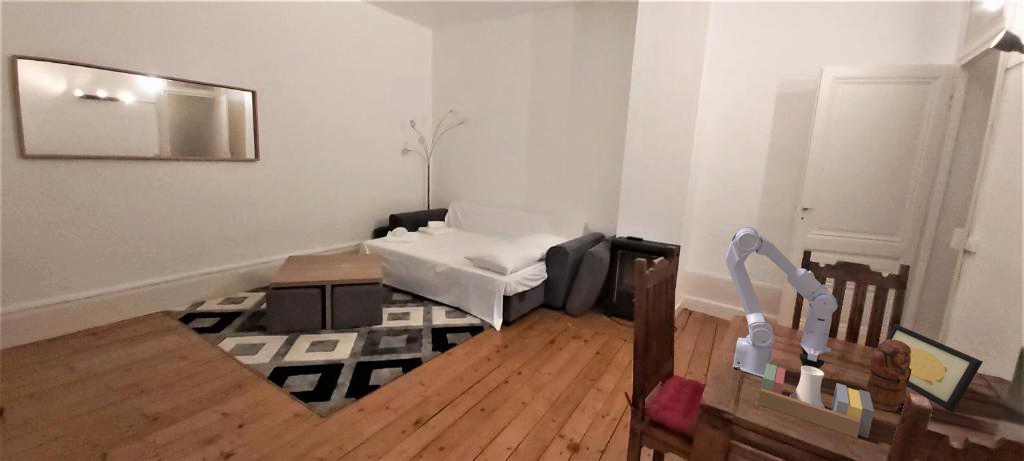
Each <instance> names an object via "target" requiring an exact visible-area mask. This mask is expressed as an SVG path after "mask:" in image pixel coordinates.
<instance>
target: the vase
mask: <svg viewBox="0 0 1024 461" xmlns="http://www.w3.org/2000/svg"><path fill="white" fill-rule="evenodd" d="M800 371H801V372H800V378H799V382H798V384H797V387H796V389H795V390H794V392H793V393H790V395H789V396H788V397H791V398H794V399H797V400H800V401H804V402H807V403H810V404H813V405H816V406H819V407H822V408H825V405H824V404H823V401H822V394H821V388H822V387H821V386H822V381H823V378H824V376H825V373H824V371H823V370H821V369H820V368H819V369H817V368H814V367H811V366H802V365H801V367H800Z"/></svg>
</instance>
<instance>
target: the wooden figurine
mask: <svg viewBox="0 0 1024 461" xmlns="http://www.w3.org/2000/svg"><path fill="white" fill-rule="evenodd" d="M910 353H911V349H910V347H909V346H908V345H907V344H905V343H903V342H901V341H898V340H886V339H885V340H883V341H882V342H881V343H880V344H879V345H878V346H877V350H876V351H875V352H874V353H873V355H872V356H871V358H870V364H869V370H870V376H869V379H868V380H867V381H868V382H867V386H866V390H865V391H866V392H870V397H871V401H872V405H873V409H877V410H882V411H884V412H885V411H886V412H897V411H898V410H899V409H901V408H902V407H903V406H902V405H903V404H905V399H906V397H907V385H906V383H907V382H909V379H910V375H911V369H910V368H909V366H910V361H911V355H910Z"/></svg>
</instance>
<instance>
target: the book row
mask: <svg viewBox="0 0 1024 461" xmlns="http://www.w3.org/2000/svg"><path fill="white" fill-rule="evenodd" d="M785 375H786V368H784V367H780V366H777V365H775V364H772V363H770V364H768V363H767V364H766V367H765V371H764V375H763V377H762V380H761V386H760V391H759V396H758V405H760V406H762V407H765V408H767V409H771V410H774V411H776V412H780V413H783V414H785V415H788V416H791V417H793V418H797V419H801V420H803V421H806V422H809V423H812V424H814V425H815V424H816V425H818V426H819V427H820V426H821V427H823V428H827V429H830V430H833V431H836V432H839V433H841V434H844V435H848V436H851V437H853V438H855V439H858V436H859V437H863V438H866V439H869V436H870V431H871V428H872V422H873V418H874V413H875V411H874V409H875V408H874V407H873V405H872V401H871V397H870V392H866V390H863V389H853V388H850V387H847V385H845V384H841V383H838V382H836V384H835V389H834V393H833V398H832V403H831V409H828V408H822V407H819V406H816V405H813V404H810V403H807V402H804V401H800V400H797V399H794V398H791V397H789V396H788V395H784V394H782V393H783V387H784V383H785Z"/></svg>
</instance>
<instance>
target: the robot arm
mask: <svg viewBox="0 0 1024 461" xmlns="http://www.w3.org/2000/svg"><path fill="white" fill-rule="evenodd" d="M730 240H731V241H730V243H729V246H728V249H727V252H726V255H725V263H726V266H727V270H728V272H729V275H730V277H731V278H732V283H733V285H734V287H735V290H736V293H737V295H738V298H739V301H740V304H741V307H742V309H743V311H744V314H745V317H746V320H747V328H748V332H749V334H747V335H746V336H745V337H738V338H737V341H736V346H735V352H734V355H733V363H732V364H733V365H732V368H733V367H734V366H735V367H740V369H741V370H740V371H741V372H745V373H748V374H751V375H754V376H758V377H761V378H763V375H764V371H765V367H766V364H767V363H768V364H771V360H772V354H773V348H774V342H775V339H776V338H775V333H774V332H773V328H772V327H773V326H772V323H771V322H770V321H769V320H768V318H766V317H765V315H764V313H763V310H762V308H761V304H760V302H759V299H758V296H757V294H756V291H755V289H754V285H753V284H752V281H751V278H750V275H749V273H748V271H747V268H746V265H745V262H746V261H747V260H748V258H749V256H750V255H751V254H753V253H754V252H755V253H756V254H757V255H762V256H766V257H767V258H769V260H771V261H772V263H774V265H776V266H777V267H778V268H779V269H780V270H782V271H783V273H785V274H786V275H787V276H786V282H787V283H788V284H789V285H790V286H791V287H792V288H794V290H795V291H797V293H798V294H800V296H802V298H804V299H806V300H807V302H808V303H809V304H808V308H807V309H808V310H807V312H806V315H805V322H804V327H803V332H802V337H801V341H800V342H799V345H800V348H801V350H802V353H799V359H800V362H801V367H802V366H811V367H814V368H817V369H819V370H820V368H822V367H823V366H824V364H825V360H823V359H819V358H820V356H821V355H822V354H824V353H831V352H832V348H831V347H828V346H827V344H828V340H829V335H830V332H831V331H830V330H831V326H832V320H833V318H832V317H833V313H834V312H836V311H837V309H838V306H839V305H838V302H837V298H836V297H835V296H834V294H832V292H830V290H829V289H828V287H827V286H826V285H825V284H821V282H819V281H818V279H816V278H815V277H814V276H815V274H814V272H812V270H809V271H808V269H806V268H800V267H797V266H796V265H794V263H792V262H791V261H790V260H789V258H788V257H787V256H786V255H784V253H783V252H782V251H781V250H780V249H779V248H778V247H777V246H776V245H775V244H774V243H773V242H772V241H770V240H769V239H768V238H767V237H766V236H764V235H762V234H761V233H760V234H759V232H758V231H757V230H756V229H755V228H753V227H750V226H744V227H740V228H739V229H738V230H736V232H734V234H733V235H732V236H731V239H730ZM737 362H739V363H740V364H739V363H737Z"/></svg>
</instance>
